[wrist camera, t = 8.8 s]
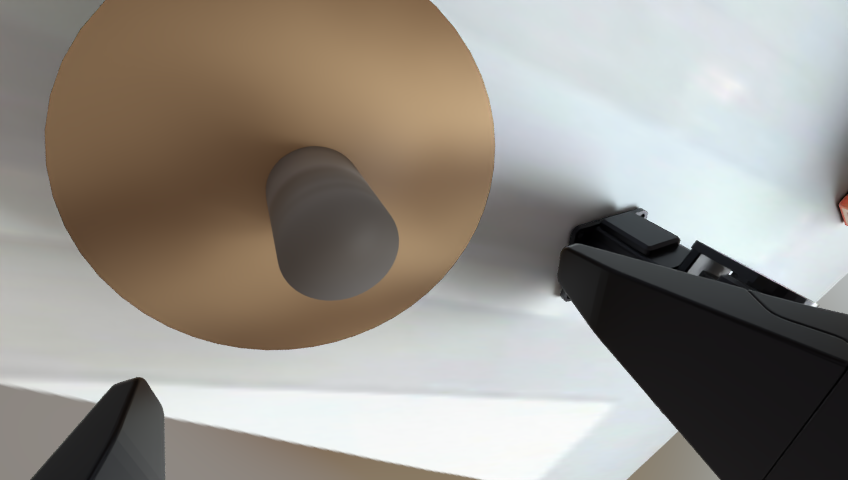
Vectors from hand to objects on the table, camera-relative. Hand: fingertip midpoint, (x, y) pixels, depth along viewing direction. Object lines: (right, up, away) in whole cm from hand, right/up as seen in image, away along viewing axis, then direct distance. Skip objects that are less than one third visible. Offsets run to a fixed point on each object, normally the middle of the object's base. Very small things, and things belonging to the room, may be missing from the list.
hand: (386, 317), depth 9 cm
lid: (-3, +4, +6) cm, 8 cm away
